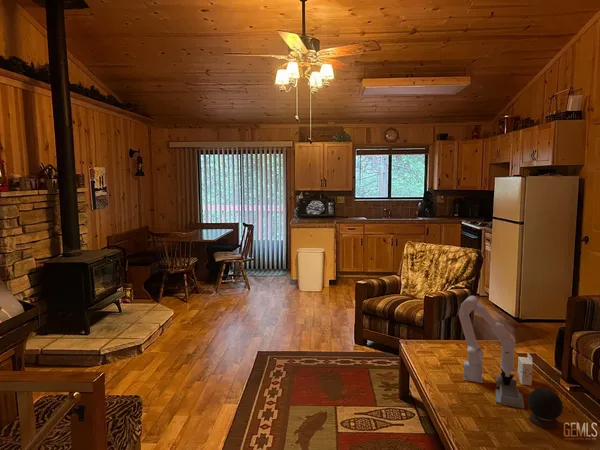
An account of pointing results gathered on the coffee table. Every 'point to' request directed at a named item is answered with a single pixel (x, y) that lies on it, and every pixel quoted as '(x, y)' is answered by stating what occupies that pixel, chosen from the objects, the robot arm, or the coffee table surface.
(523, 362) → the ink cartridge box
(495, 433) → the coffee table surface
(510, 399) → the stand
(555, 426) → the black ball on base
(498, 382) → the housing
